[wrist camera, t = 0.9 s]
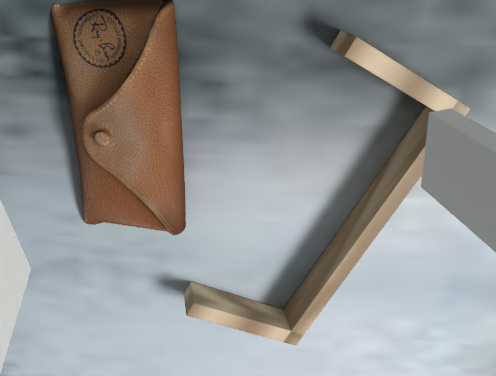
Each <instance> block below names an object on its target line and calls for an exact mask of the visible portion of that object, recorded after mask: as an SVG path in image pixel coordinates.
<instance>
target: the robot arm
mask: <svg viewBox="0 0 496 376" xmlns="http://www.w3.org/2000/svg"><path fill="white" fill-rule="evenodd" d="M421 187H422V188H423V189H424V190H425V191H426V192H428V193H429V194H430V195H431V196H432V197H433V198H434V199H436V200H437V201H438V202H439V203H440V204H441V205H442V206H444V207H445V208H446V209H447V210H448V211H449V212H450V213H452V214H453V215H454V216H455V217H456V218H457V219H458V220H460V221H461V222H462V223H463V224H464V225H465V226H466V227H468V228H469V229H470V230H471V231H472V232H473V233H474V234H476V235H477V236H478V237H479V238H480V239H481V240H482V241H484V242H485V243H486V244H487V245H488V246H489V247H490V248H492V249H493V250H494V251H495V252H496V133H495V132H493V131H491V130H489V129H487V128H486V127H484V126H482V125H480V124H478V123H477V122H475V121H473V120H471V119H469V118H467V117H466V116H464V115H462V114H460V113H458V112H457V111H455V110H453V109H451V108H450V109H445V110H440V111H434V112H429V118H428V127H427V136H426V146H425V155H424V164H423V173H422V183H421ZM30 271H31V268H30V266H29V264H28V261H27V259H26V257H25V254H24V252H23V250H22V248H21V245H20V243H19V241H18V239H17V236H16V234H15V232H14V230H13V227H12V225H11V223H10V220H9V218H8V216H7V214H6V211H5V209H4V207H3V205H2V202H1V200H0V373H1V370H2V367H3V363H4V360H5V356H6V353H7V350H8V346H9V343H10V339H11V336H12V333H13V329H14V326H15V322H16V319H17V316H18V312H19V309H20V305H21V302H22V299H23V295H24V292H25V288H26V285H27V281H28V278H29V275H30Z"/></svg>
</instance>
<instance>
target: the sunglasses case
mask: <svg viewBox="0 0 496 376" xmlns="http://www.w3.org/2000/svg"><path fill="white" fill-rule="evenodd" d="M51 12H52V20H53V25H54V29H55V34H56V39H57V42H58V48H59V52H60V56H61V60H62V65H63V69H64V75H65V80H66V86H67V91H68V96H69V102H70V109H71V114H72V121H73V126H74V134H75V140H76V149H77V155H78V162H79V168H80V178H81V187H82V201H83V216H84V221H85V223H87V224H99V223H103V222H107V223H114V224H121V225H128V226H135V227H142V228H148V229H154V230H162V231H168V232H169V233H170V234H172V235H178V234H180V233H181V232H182V231H183V230H184V229H185V226H186V222H185V181H184V161H183V140H182V121H181V100H180V80H179V61H178V46H177V32H176V19H175V11H174V2H173V1H172V0H123V1H101V2H83V3H74V4H67V5H64V6H59V5H57V4H53V6H52V9H51Z"/></svg>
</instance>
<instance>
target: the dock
mask: <svg viewBox="0 0 496 376" xmlns="http://www.w3.org/2000/svg"><path fill="white" fill-rule="evenodd" d="M330 48H331V49H332V50H334V51H336V52H337V53H339V54H341V55H342V56H344V57H346V58H347V59H349V60H351V61H352V62H354V63H356V64H357V65H359V66H361V67H362V68H364V69H366V70H367V71H369V72H371V73H372V74H374V75H375V76H377V77H379V78H380V79H382V80H384V81H385V82H387V83H389V84H390V85H392V86H394V87H395V88H397V89H399V90H400V91H402V92H404V93H405V94H407V95H409V96H410V97H412V98H414V99H415V100H417V101H418V102H420V103H422V104H423V105H425V106H426V107H425V108H424V109H423V111H422V112H421V114H420V115H419V117H418V118H417V119H416V121H415V122H414V124H413V125H412V126H411V128H410V129H409V131H408V132H407V134H406V135H405V136H404V138H403V139H402V141H401V142H400V144H399V145H398V146H397V148H396V149H395V151H394V152H393V154H392V155H391V156H390V158H389V159H388V161H387V162H386V164H385V165H384V166H383V168H382V169H381V171H380V172H379V174H378V175H377V176H376V178H375V179H374V181H373V182H372V184H371V185H370V186H369V188H368V189H367V191H366V192H365V194H364V195H363V196H362V198H361V199H360V201H359V202H358V204H357V205H356V206H355V208H354V209H353V211H352V212H351V213H350V215H349V216H348V218H347V219H346V221H345V222H344V223H343V225H342V226H341V228H340V229H339V231H338V232H337V233H336V235H335V236H334V238H333V239H332V241H331V242H330V243H329V245H328V246H327V248H326V249H325V251H324V252H323V253H322V255H321V256H320V258H319V259H318V261H317V262H316V263H315V265H314V266H313V268H312V269H311V271H310V272H309V273H308V275H307V276H306V278H305V279H304V281H303V282H302V283H301V285H300V286H299V288H298V289H297V290H296V292H295V293H294V295H293V296H292V298H291V299H290V300H289V302H288V303H287V305H286V306H285V308H284V309H283V310H282V309H279V308H276V307H273V306H269V305H266V304H263V303H260V302H256V301H253V300H250V299H246V298H243V297H240V296H237V295H233V294H230V293H227V292H224V291H220V290H217V289H214V288H211V287H207V286H204V285H201V284H198V283H194V282H190V284H189V285H188V287H187V289H186V290H185V292H184V299H185V307H186V315H187V316H190V317H194V318H197V319H201V320H205V321H208V322H212V323H216V324H219V325H223V326H227V327H230V328H234V329H238V330H241V331H245V332H248V333H252V334H256V335H259V336H263V337H267V338H270V339H274V340H278V341H281V342H285V343H289V344H292V345H296V344H297V343H298V342H299V340H300V339H301V338H302V336H303V335H304V334H305V332H306V331H307V330H308V328H309V327H310V326H311V324H312V323H313V321H314V320H315V319H316V317H317V316H318V315H319V313H320V312H321V311H322V309H323V308H324V307H325V305H326V304H327V303H328V301H329V300H330V298H331V297H332V296H333V294H334V293H335V292H336V290H337V289H338V288H339V286H340V285H341V284H342V282H343V281H344V280H345V278H346V277H347V275H348V274H349V273H350V271H351V270H352V269H353V267H354V266H355V265H356V263H357V262H358V261H359V259H360V258H361V257H362V255H363V254H364V252H365V251H366V250H367V248H368V247H369V246H370V244H371V243H372V242H373V240H374V239H375V238H376V236H377V235H378V234H379V232H380V231H381V229H382V228H383V227H384V225H385V224H386V223H387V221H388V220H389V219H390V217H391V216H392V215H393V213H394V212H395V211H396V209H397V208H398V206H399V205H400V204H401V202H402V201H403V200H404V198H405V197H406V196H407V194H408V193H409V192H410V190H411V189H412V188H413V186H414V185H415V183H416V182H417V181H418V179H419V178H420V177H421V175H422V173H423V164H424V155H425V146H426V136H427V127H428V118H429V112H434V111H440V110H445V109H450V108H451V109H453V110H455V111H457V112H458V113H460V114H462V115H464V116H466V114H467V113H468V112H469V110H470V108H468V107H466V106H465V105H463V104H462V103H460V102H459V101H457V100H455V99H454V98H452V97H451V96H449V95H447V94H446V93H444V92H443V91H441V90H440V89H438V88H436V87H435V86H433V85H432V84H430V83H429V82H427V81H425V80H424V79H422V78H421V77H419V76H418V75H416V74H414V73H413V72H411V71H410V70H408V69H407V68H405V67H403V66H402V65H400V64H399V63H397V62H395V61H394V60H392V59H391V58H389V57H388V56H386V55H384V54H383V53H381V52H380V51H378V50H377V49H375V48H373V47H372V46H370V45H369V44H367V43H366V42H364V41H362V40H361V39H359V38H358V37H356V36H354V35H351V34H349V33H347V32H344V31H342V30H340V32H339V34H338V35H337V37H336V39H335V40H334V42H333V44H332V45H331V47H330Z"/></svg>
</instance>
